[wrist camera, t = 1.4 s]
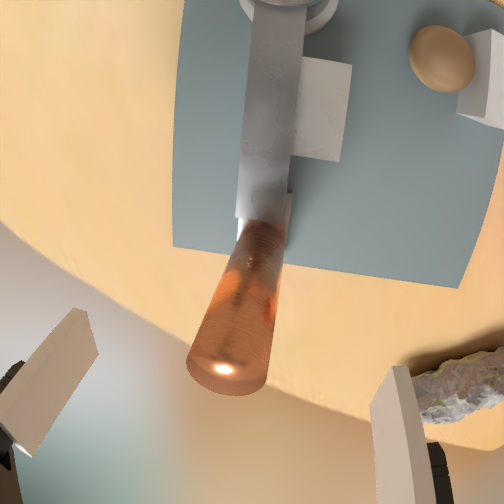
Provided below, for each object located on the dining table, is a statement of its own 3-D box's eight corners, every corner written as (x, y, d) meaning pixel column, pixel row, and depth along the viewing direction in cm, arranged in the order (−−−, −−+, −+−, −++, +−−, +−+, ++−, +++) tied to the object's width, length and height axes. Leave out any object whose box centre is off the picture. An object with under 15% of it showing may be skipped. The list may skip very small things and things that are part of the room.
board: (198, -50, 14) (174, -79, 10) (504, 15, 12) (540, 6, 8) (178, 239, 25) (152, 272, 21) (452, 281, 23) (475, 317, 19)
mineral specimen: (384, 404, 32) (390, 450, 26) (385, 366, 29) (395, 418, 23) (495, 374, 28) (512, 414, 22) (508, 333, 25) (532, 375, 19)
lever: (252, -38, 13) (198, -146, 3) (348, -28, 13) (390, -134, 2) (226, 255, 23) (168, 382, 13) (309, 267, 23) (308, 407, 12)
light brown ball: (401, 23, 14) (424, 8, 11) (457, 44, 14) (489, 36, 10) (395, 82, 16) (419, 79, 13) (452, 100, 16) (484, 103, 12)
